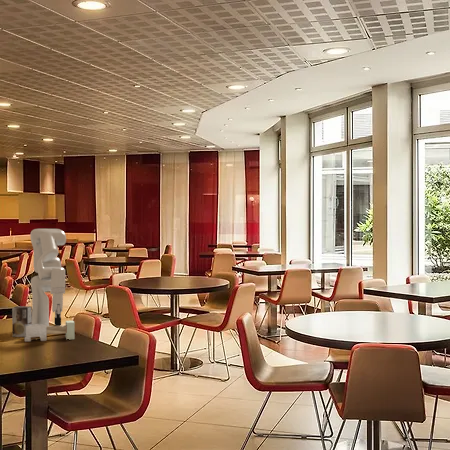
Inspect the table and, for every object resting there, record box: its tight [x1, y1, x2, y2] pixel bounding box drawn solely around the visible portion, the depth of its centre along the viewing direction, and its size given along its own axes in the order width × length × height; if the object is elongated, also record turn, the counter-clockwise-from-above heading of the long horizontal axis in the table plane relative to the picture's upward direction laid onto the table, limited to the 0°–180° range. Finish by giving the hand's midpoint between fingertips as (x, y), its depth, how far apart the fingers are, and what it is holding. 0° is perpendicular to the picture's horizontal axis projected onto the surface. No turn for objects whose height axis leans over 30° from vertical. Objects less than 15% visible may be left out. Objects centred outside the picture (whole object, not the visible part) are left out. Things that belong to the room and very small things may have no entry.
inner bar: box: [47, 324, 67, 335], centre depth 356 cm, size 4×17×10 cm, turn 108°
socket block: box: [65, 320, 76, 340], centre depth 360 cm, size 8×4×9 cm, turn 18°
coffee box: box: [11, 305, 32, 338], centre depth 367 cm, size 9×6×16 cm
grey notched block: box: [24, 324, 48, 342], centre depth 354 cm, size 8×11×8 cm
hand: (57, 324), depth 358 cm, fingers closed on inner bar, 2 cm apart
